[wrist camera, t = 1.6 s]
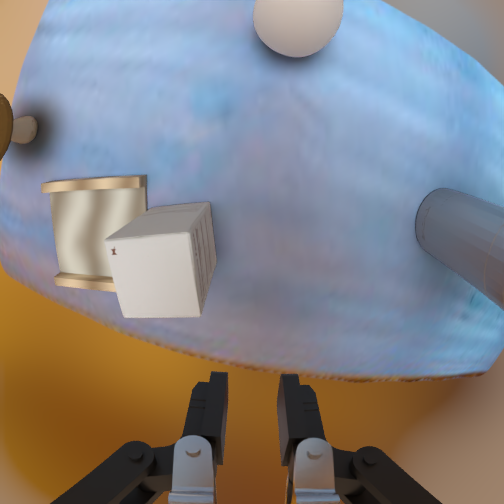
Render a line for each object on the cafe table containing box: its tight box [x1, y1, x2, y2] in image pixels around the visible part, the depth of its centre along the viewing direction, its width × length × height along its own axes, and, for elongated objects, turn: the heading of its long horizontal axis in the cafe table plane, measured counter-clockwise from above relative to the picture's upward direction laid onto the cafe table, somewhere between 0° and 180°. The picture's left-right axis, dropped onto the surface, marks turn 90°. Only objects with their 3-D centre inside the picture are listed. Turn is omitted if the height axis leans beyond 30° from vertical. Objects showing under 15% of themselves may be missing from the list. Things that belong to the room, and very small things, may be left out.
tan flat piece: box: [41, 175, 147, 292], centre depth 32 cm, size 14×14×2 cm
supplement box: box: [104, 202, 217, 318], centre depth 28 cm, size 7×7×13 cm
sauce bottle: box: [253, 0, 343, 57], centre depth 18 cm, size 8×8×18 cm
